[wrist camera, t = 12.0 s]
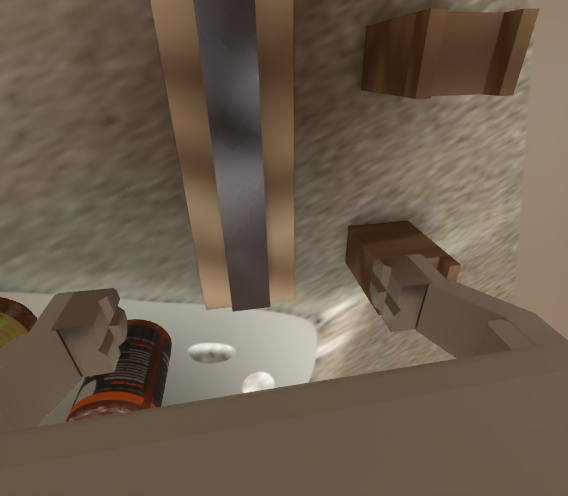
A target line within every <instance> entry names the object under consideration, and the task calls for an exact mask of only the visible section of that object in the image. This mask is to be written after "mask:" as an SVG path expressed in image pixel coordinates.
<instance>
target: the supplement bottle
mask: <svg viewBox="0 0 568 496" xmlns="http://www.w3.org/2000/svg"><path fill="white" fill-rule="evenodd" d="M127 324H128V325H127V335H126V338H125V341H124V342H123V343H122V344H121V345H120V346H119V347H118V348H119V350H120V353H121V354H120V356H119V359H118V362H117V365H116V368H115V371H114V372H111V373H105V374H99V375H94V376H88V377H85V379H84V381H83V384H82V386H81V388H80V390H79V393H78V395H77V397H76V400H75V401H74V404H73V406H72V409H71V411H70V413H69V415H68V418H67V420H66V422H69V421H76V420H82V419H88V418H94V417H100V416H107V415H113V414H119V413H125V412H131V411H137V410H144V409H150V408H156V407H161V405H162V399H163V394H164V389H165V383H166V377H167V372H168V366H169V360H170V355H171V345H172V343H171V338H170V336H169V335H168V333H167V332H166V331H165V330H164V329H163V328H162V327H161V326H159V325H157V324H155V323H153V322H150V321H146V320H136V319H134V320H127Z"/></svg>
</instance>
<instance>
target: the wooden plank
mask: <svg viewBox="0 0 568 496" xmlns="http://www.w3.org/2000/svg"><path fill="white" fill-rule="evenodd" d="M150 2H151V7H152V13H153V18H154V24H155V29H156V35H157V40H158V46H159V51H160V57H161V63H162V68H163V74H164V79H165V85H166V90H167V96H168V101H169V107H170V112H171V118H172V123H173V129H174V135H175V140H176V146H177V151H178V157H179V162H180V168H181V173H182V179H183V184H184V190H185V196H186V201H187V207H188V212H189V218H190V223H191V229H192V234H193V240H194V245H195V251H196V256H197V262H198V268H199V273H200V279H201V284H202V290H203V295H204V301H205V306H206V310H210V309H218V308H226V307H232V302H231V294H230V286H229V278H228V271H227V263H226V255H225V247H224V239H223V231H222V223H221V215H220V208H219V200H218V192H217V184H216V176H215V168H214V160H213V152H212V145H211V137H210V129H209V121H208V113H207V105H206V97H205V90H204V82H203V74H202V66H201V58H200V50H199V42H198V34H197V27H196V19H195V11H194V3H193V0H150ZM255 11H256V31H257V50H258V70H259V90H260V110H261V130H262V150H263V170H264V190H265V209H266V229H267V249H268V269H269V289H270V302H276V301H284V300H292V299H294V0H255Z"/></svg>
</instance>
